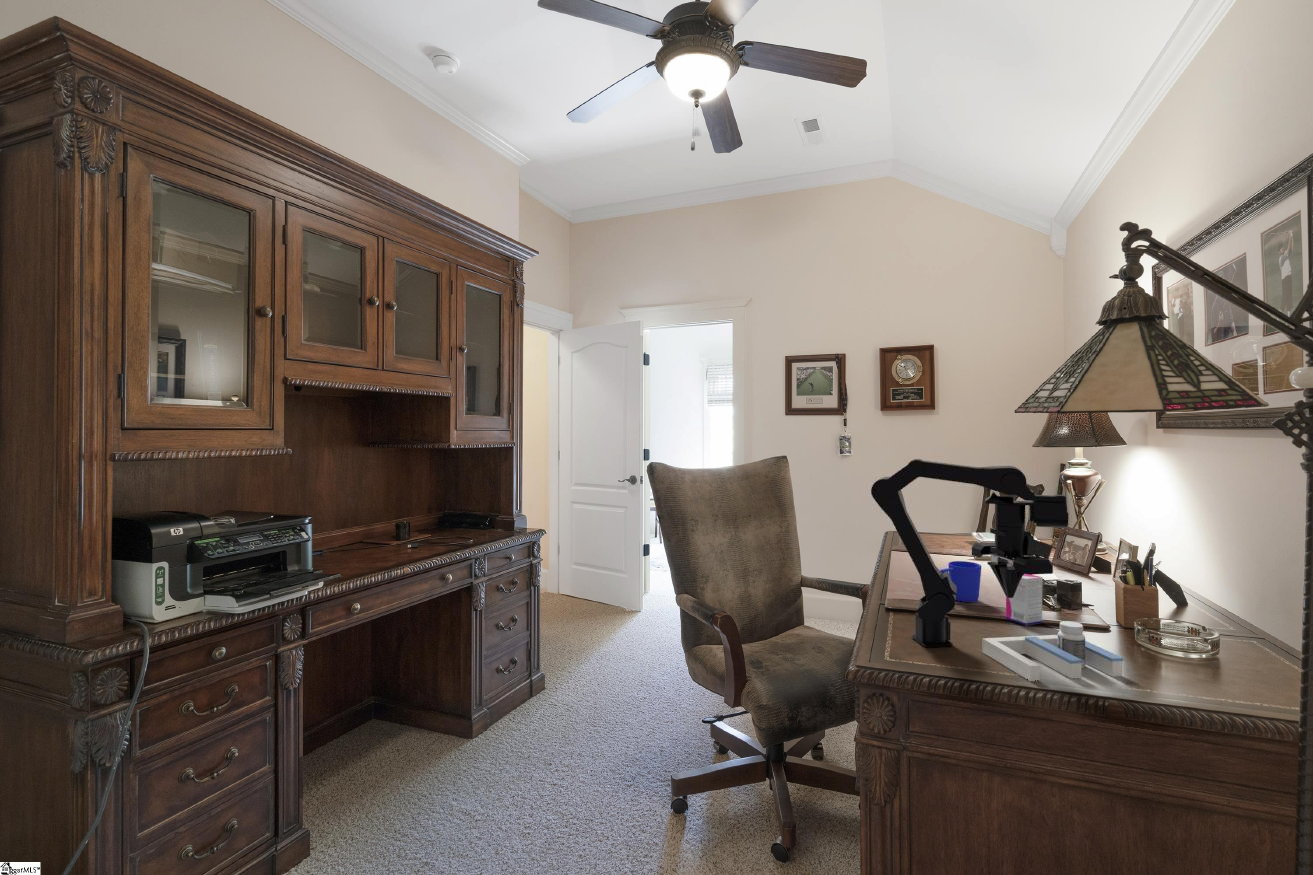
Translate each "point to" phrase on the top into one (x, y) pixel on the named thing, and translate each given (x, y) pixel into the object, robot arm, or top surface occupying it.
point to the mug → (965, 579)
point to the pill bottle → (1072, 639)
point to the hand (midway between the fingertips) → (1009, 597)
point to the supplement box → (1026, 601)
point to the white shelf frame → (1048, 656)
